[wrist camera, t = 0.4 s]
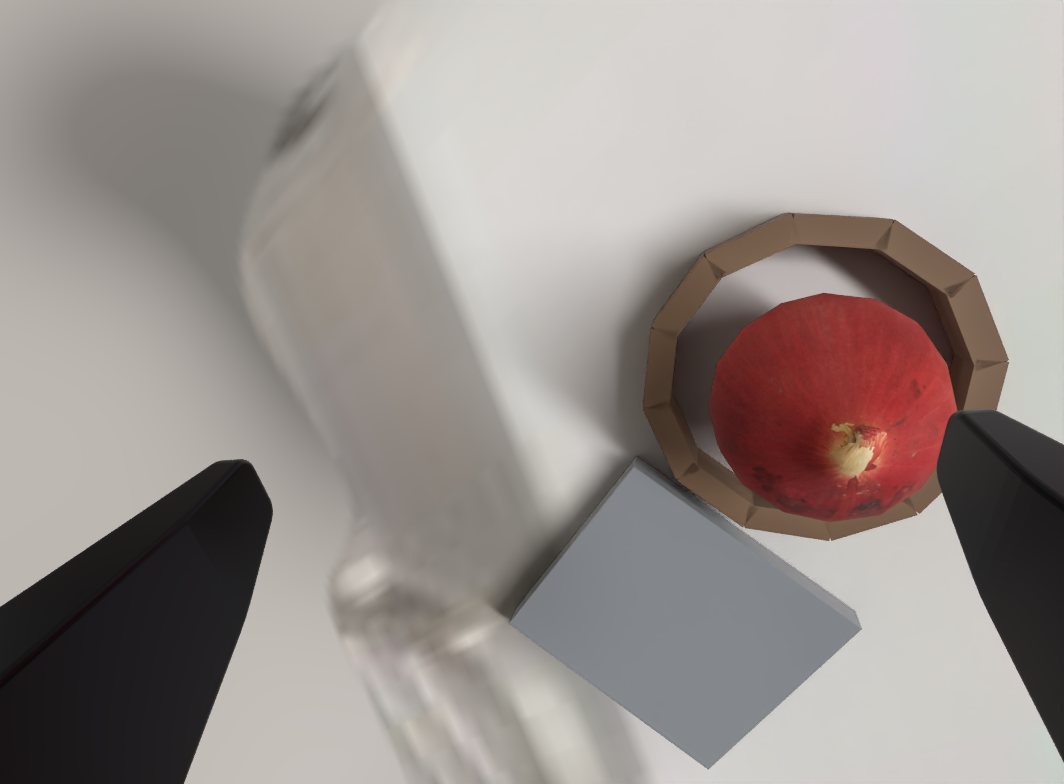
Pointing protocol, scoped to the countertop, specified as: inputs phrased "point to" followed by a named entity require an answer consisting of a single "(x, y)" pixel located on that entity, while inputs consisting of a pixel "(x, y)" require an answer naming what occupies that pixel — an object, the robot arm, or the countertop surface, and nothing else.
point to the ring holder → (947, 280)
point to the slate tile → (681, 615)
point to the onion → (832, 407)
